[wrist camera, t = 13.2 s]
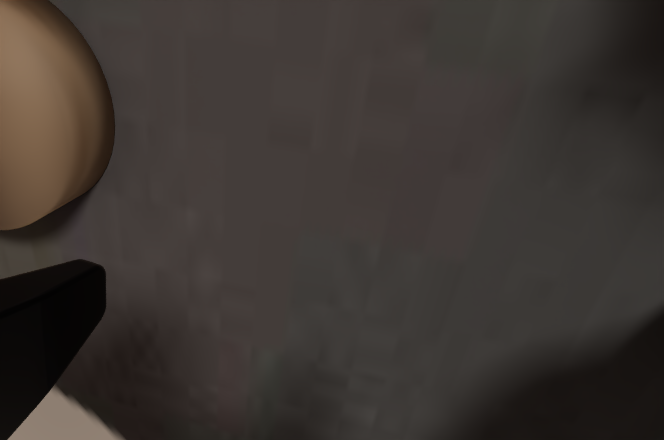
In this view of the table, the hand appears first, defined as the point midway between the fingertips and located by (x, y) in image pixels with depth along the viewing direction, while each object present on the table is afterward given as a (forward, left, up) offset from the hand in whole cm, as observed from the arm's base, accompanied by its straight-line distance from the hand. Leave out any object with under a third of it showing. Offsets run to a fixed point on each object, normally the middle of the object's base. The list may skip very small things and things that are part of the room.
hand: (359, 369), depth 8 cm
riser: (+18, +3, -13) cm, 22 cm away
